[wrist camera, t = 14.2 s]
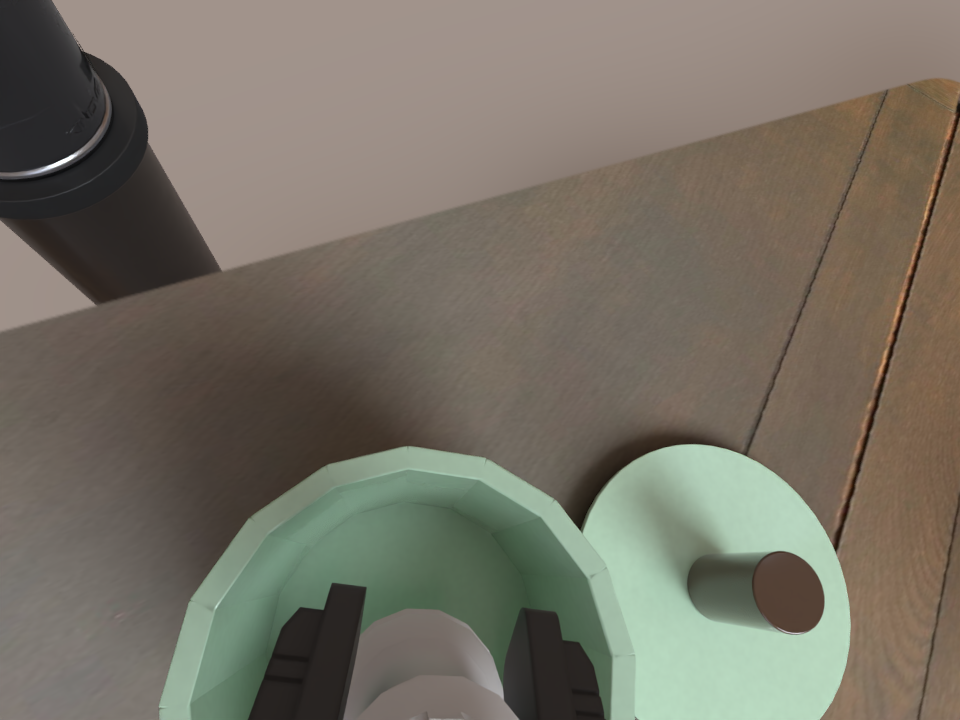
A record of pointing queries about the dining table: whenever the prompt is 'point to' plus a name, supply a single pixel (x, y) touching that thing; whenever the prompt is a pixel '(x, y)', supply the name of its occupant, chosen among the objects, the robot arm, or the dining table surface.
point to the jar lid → (722, 587)
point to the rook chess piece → (424, 671)
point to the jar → (397, 573)
